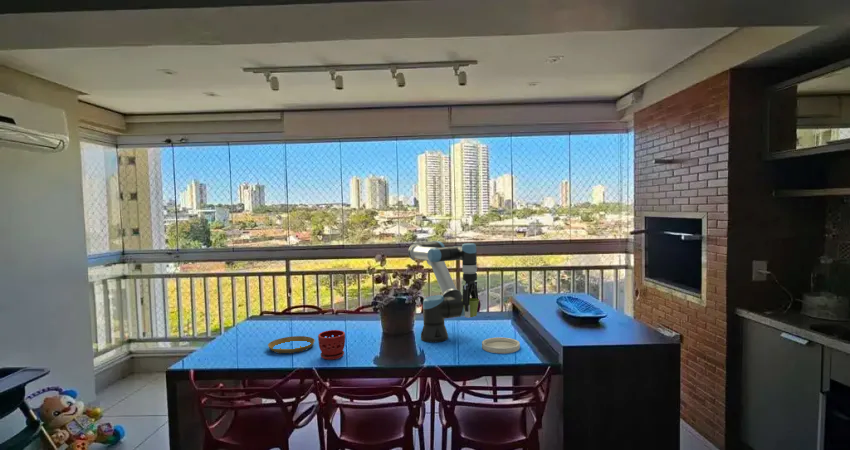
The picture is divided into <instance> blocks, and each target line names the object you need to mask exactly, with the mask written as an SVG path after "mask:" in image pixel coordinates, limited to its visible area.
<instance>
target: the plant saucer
mask: <svg viewBox="0 0 850 450" xmlns="http://www.w3.org/2000/svg"><path fill="white" fill-rule="evenodd" d="M290 341H307V342H310V343H311V344H310V345H308V346H305V347H301V346H300V348H295V349H281V348H280V349H273V347H274V346H275V345H278V344H281V343H285V342H290ZM315 342H316V340H315V338H313V337H311V336H304V335H298V336H297V335H296V336H295V335H294V336H286V337H281V338H277V339H274V340H272V341H270V342H269V343H268V344H267V346H268V348H269V350H271V351H272V352H273V351H274V352H273V353H276V352H277V353H276V354H281V353H289V354H295V353H294V352H297V353H301V352H304V351H303V350H305V351H307V350H309V349H310V348H312V346H313V345H314V343H315ZM308 348H309V349H308ZM306 349H307V350H306ZM300 351H301V352H300Z"/></svg>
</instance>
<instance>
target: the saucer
mask: <svg viewBox="0 0 850 450" xmlns="http://www.w3.org/2000/svg"><path fill="white" fill-rule="evenodd" d="M520 348H521V343H520V341H519V340H517V339H515V338H511V337H499V336H498V337H497V336H496V337H489V338H486V339H484V340H482V341H481V349H482V350H483V351H485V352H487V353H493V354H502V355H503V354H512V353H515V352H518V351H519V350H520Z"/></svg>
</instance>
